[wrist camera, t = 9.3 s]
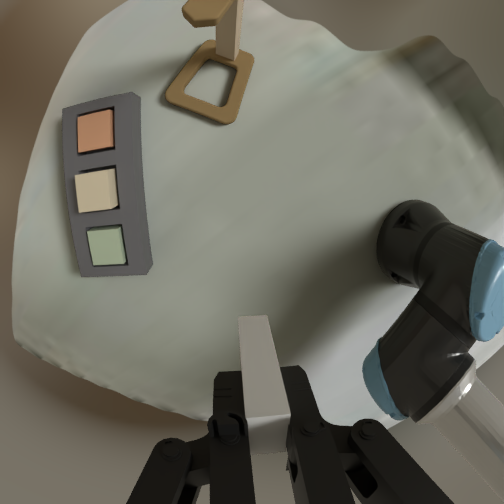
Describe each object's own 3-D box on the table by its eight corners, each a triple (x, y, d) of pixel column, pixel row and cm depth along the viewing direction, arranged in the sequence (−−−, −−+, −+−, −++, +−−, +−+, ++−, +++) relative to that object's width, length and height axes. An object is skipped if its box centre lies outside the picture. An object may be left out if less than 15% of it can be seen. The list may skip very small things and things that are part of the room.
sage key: (125, 223, 37) (118, 228, 35) (130, 256, 39) (123, 263, 36) (95, 226, 37) (87, 231, 34) (101, 257, 39) (93, 265, 36)
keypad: (75, 111, 32) (62, 108, 28) (140, 97, 33) (132, 91, 29) (91, 266, 40) (81, 276, 37) (152, 264, 41) (146, 274, 38)
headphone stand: (163, 101, 34) (100, 50, 13) (198, 37, 31) (178, -55, 10) (231, 127, 36) (240, 94, 15) (265, 63, 33) (307, -18, 12)
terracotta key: (117, 112, 32) (109, 109, 29) (118, 146, 34) (110, 146, 31) (87, 118, 32) (77, 117, 29) (88, 152, 33) (78, 152, 30)
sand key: (115, 168, 33) (107, 169, 30) (119, 204, 35) (111, 208, 32) (84, 173, 33) (74, 175, 30) (88, 208, 35) (79, 212, 32)
